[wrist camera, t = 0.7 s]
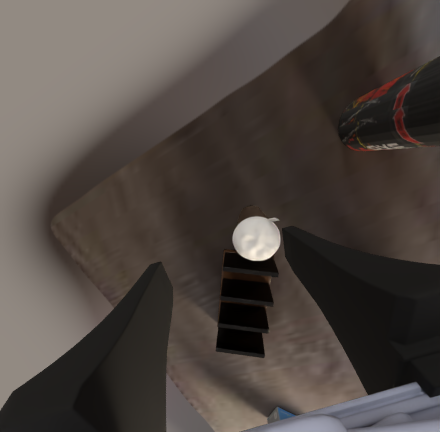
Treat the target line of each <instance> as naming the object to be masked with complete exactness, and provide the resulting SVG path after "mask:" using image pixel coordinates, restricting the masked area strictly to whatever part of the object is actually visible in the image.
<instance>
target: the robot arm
mask: <svg viewBox="0 0 440 432" xmlns="http://www.w3.org/2000/svg"><path fill="white" fill-rule="evenodd" d="M282 233H283V241H284V249H285V257H286V259H287V261H288V263H289V264H290V266H291V268H292V270H293V271H294V273H295V274H296V276H297V277H298V278H299V280H300V281H301V283H302V284H303V285H304V287H305V288H306V289H307V291H308V292H309V293H310V295H311V296H312V298H313V299H314V300H315V302H316V303H317V305H318V306H319V308H320V309H321V311H322V312H323V314H324V316H325V317H326V319H327V321H328V322H329V324H330V326H331V327H332V329H333V331H334V333H335V334H336V336H337V338H338V340H339V342H340V343H341V345H342V347H343V349H344V351H345V352H346V354H347V356H348V358H349V360H350V362H351V363H352V365H353V367H354V369H355V371H356V373H357V375H358V377H359V379H360V381H361V382H362V384H363V386H364V388H365V390H366V392H367V394H368V395H367V396H364V397H360V398H357V399H353V400H350V401H346V402H343V403H339V404H336V405H332V406H329V407H325V408H322V409H318V410H315V411H311V412H308V413H304V414H301V415H297V416H294V417H290V418H287V419H283V420H280V421H276V422H273V423H269V424H266V425H262V426H258V427H255V428H251V429H248V430H244V431H241V432H440V265H436V264H425V263H418V262H411V261H404V260H398V259H393V258H387V257H383V256H378V255H373V254H369V253H365V252H361V251H358V250H354V249H351V248H347V247H344V246H341V245H338V244H336V243H333V242H330V241H327V240H325V239H322V238H320V237H317V236H315V235H313V234H310V233H308V232H306V231H304V230H301V229H299V228H297V227H294V226H289V227H286V228H282ZM172 308H173V287H172V285H171V282H170V280H169V278H168V276H167V273H166V271H165V269H164V267H163V265H162V262H157V263H154V264H151V265H150V266H149V267H148V268H147V269H146V271H145V272H144V273H143V274H142V276H141V277H140V278H139V280H138V281H137V282H136V283H135V285H134V286H133V287H132V288H131V290H130V291H129V292H128V293H127V294H126V296H125V297H124V298H123V299H122V300H121V301H120V303H119V304H118V305H117V306H116V307H115V308H114V309H113V310H112V311H111V313H110V314H109V315H108V316H107V317H106V318H105V319H104V320H103V321H102V322H101V323H100V324H99V325H98V326H97V327H95V328H94V329H93V330H92V331H91V332H90V333H89V334H87V335H86V336H85V337H84V338H83V339H82V340H81V341H80V342H79V343H77V344H76V345H75V346H74V347H73V348H71V349H70V350H69V351H68V352H66V353H65V354H64V355H63V356H61V357H60V358H59V359H58V360H56V361H55V362H54V363H52V364H51V365H50V366H48V367H47V368H46V369H44V370H43V371H42V372H40V373H39V374H37V375H36V376H35V377H33V378H32V379H30V380H29V381H27V382H26V383H25V384H23V385H22V386H20V387H19V388H18V389H16V390H15V391H13V392H12V394H11V395H10V397H9V398H8V400H7V401H6V403H5V404H4V406H3V408H2V409H1V411H0V432H166V364H167V346H168V338H169V331H170V323H171V316H172Z"/></svg>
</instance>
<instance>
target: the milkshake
mask: <svg viewBox="0 0 440 432" xmlns="http://www.w3.org/2000/svg"><path fill="white" fill-rule="evenodd" d="M272 221H279V219H278V218H276V217H275V218H270V219H269V218H268V217H267V216H266V215H265V214H264V213H263V212H262V210H261V209H260V208H259V207H257V206H253V205H250V206H247V207H245V208H243V210H242V211H241V213H240V214H239V218H238V222H237V225H236V228H235V230H234V233H233V244H234V247H235V249H236V251H237V252H238V253H239V254H240V255H241V256H242V257H244V258H246V259H248V260H252V261H262V260H266V259H268V258H270V257H271V256H273V255H274V253H275V252H276V251H277V250H278V248H279V246H280V232H279V230H278V228H277V226H276V225H275V224H274V223H273V222H272Z"/></svg>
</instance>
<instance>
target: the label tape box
mask: <svg viewBox="0 0 440 432" xmlns="http://www.w3.org/2000/svg"><path fill="white" fill-rule="evenodd" d="M294 416H296V415H294V414H291V413H289V412H287V411H285V410H283V409H281V408H279V407H276V408H275V410H274V411H273V412H272V413H271V415H270V416H269V417H268V419H267V420H268V424H269V423H273V422H276V421H280V420H283V419H287V418H290V417H294Z"/></svg>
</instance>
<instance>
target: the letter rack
mask: <svg viewBox="0 0 440 432" xmlns="http://www.w3.org/2000/svg"><path fill="white" fill-rule="evenodd" d="M278 274H279V273H278V270H277V267H276V264H275V261H274V255H273V256H271V257H270V258H268V259H266V260H262V261H252V260H248V259H246V258H244V257H242V256H241V255H240V254H239V253H238V252H237V251H236V250H227V249H224V253H223V265H222V277H221V289H220V301H219V313H218V325H217V327H218V336H217V344H216V351H217V352H224V353H231V354H239V355H246V356H253V357H260V358H264V356H265V353H264V345H263V338H262V333H269V327H268V321H267V316H266V306H272V307H273V304H274V302H273V298H272V294H271V290H270V281H271V277H278Z"/></svg>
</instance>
